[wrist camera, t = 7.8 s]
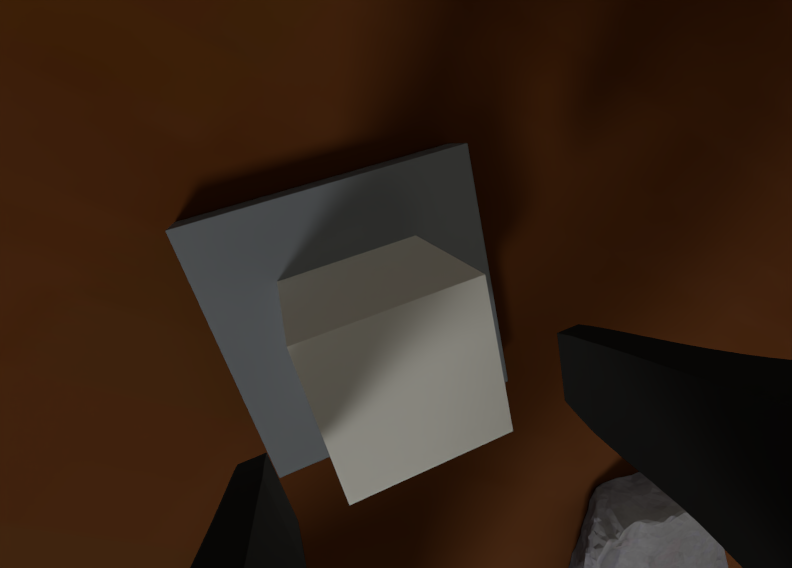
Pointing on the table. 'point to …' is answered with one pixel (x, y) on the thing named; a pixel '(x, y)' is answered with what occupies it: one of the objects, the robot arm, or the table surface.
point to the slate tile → (309, 249)
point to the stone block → (642, 530)
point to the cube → (396, 361)
